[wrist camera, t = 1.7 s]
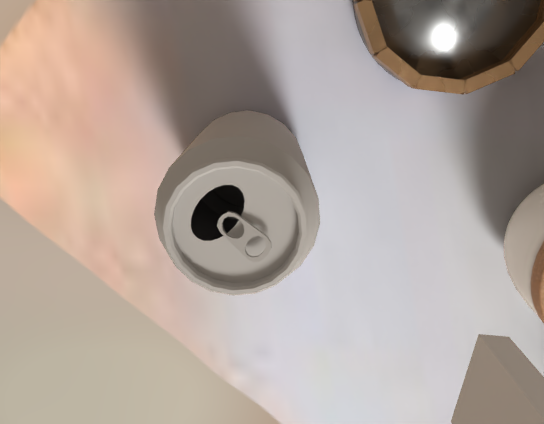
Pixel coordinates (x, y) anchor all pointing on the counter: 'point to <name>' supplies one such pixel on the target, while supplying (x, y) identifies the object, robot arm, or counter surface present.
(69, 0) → the counter surface
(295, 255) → the can
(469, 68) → the coaster
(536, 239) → the lidded jar
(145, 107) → the counter surface
